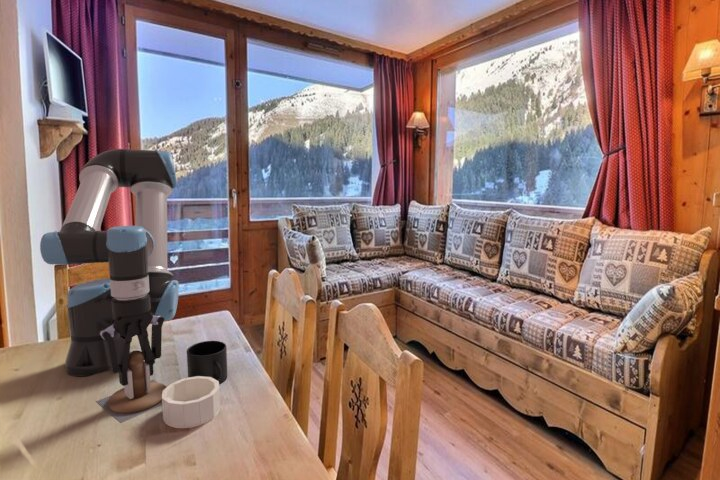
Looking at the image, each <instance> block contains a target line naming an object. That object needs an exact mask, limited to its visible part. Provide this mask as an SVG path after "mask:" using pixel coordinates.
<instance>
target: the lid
mask: <svg viewBox="0 0 720 480" xmlns="http://www.w3.org/2000/svg"><path fill="white" fill-rule="evenodd" d="M144 362H145V360H144V354H143V353H142V351H141V350H132V351H130V353H129V364H128V369H129V370H131V371H132V381H133V394H134V398H132V399H129V398H128V397H127V396H125V389H124V387H122V388H120V389H119V390H117V391H115V392H114V393H112V394H111V395H109V396H110V398H109V400H108V408H109V410H110V411H112V412H114V413H118V414H131V413H137V412H141V411H145V410H148V409H150V408H152V407H154V406H156V405H158V404H159V403H161V402H162V392H163V390H164V389H165V388H166V387H167V386H166V385H165V384H163V383H161V382H158V381H156V382H150V384H151V391H149V392H147V391H146V386H145V372H144ZM157 382H158V383H157Z"/></svg>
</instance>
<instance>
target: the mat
mask: <svg viewBox="0 0 720 480" xmlns="http://www.w3.org/2000/svg"><path fill="white" fill-rule="evenodd" d="M150 382H157V383H159V382H158V381H156V380H155V379H150ZM110 396H111V395H108V396H107V397H106V396H105V397H104V398H101V399H97V400H96V401H95V402H96V403H97V404H98V405H99V406H101V407H102V409H104V410H105V411H106V412H108V414H110V415H111V416H112V417H113V418H114V419H115V420H117V421H118V423H121V424H122V423H125V422H126V421H129V420H131V419H134V418H136V417H138V416H140V415H142V414H145V413H146V412H149V411H151V410H153V409H155V408H158V407H161V406H162V402H161V403H159V404H158V405H156V406H154V407H152V408H150V409H148V410H145V411H141V412H137V413H131V414H118V413H114V412H112V411H110V410H109V408H108V400H109V398H110Z"/></svg>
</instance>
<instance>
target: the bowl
mask: <svg viewBox="0 0 720 480" xmlns="http://www.w3.org/2000/svg"><path fill="white" fill-rule="evenodd" d="M220 389H221V388H220V385H219V381H217V380H215V379H214V378H212V377H204V376H196V377H189V378H188V377H185V378H181V379H179V380H176V381H174V382H172V383H169V385H168V386H166V388H165V389H164V390H163V392H162V405H161V406H162V407H161V408H162V420H163V421H164V423H165V424H166V425H167V426H169V427H171V428H176V429H189V428H190V429H191V428H193V427H194V428H195V427H199V426H201V425H204V424H206V423H207V422H208V423H209V421H211V420H213V419H214V418H216V417H217V415H218V414H219V413H220V410H221V393H220V392H221V391H220Z"/></svg>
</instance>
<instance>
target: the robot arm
mask: <svg viewBox="0 0 720 480" xmlns="http://www.w3.org/2000/svg"><path fill="white" fill-rule="evenodd" d="M173 158H174V157H173V155H172V153H171V152H170V151H167V150H158V149H155V150H154V149H153V150H151V149H130V148H129V149H128V148H126V149H124V148H115V149H114V148H113V149H109V150H106V151H103V152H101V153H99V154H97V155H96V156H94V157H92V158H90V159H89V160H88V162H86V164H85V165H84V166H83V167H82V169H81V171H80V172H79V175H78V176H79V177H78V178H79V179H78V181H79V182H80V184H79V187H78V189H77V190H76V193H75V195H74V197H73V199H72V202H71V205H70V207H69V210H68V212H67V214H66V217H65V219H64V221H63V223H62V226H61V228H60V230H59V231H57V230H55V231H52V232H46V233H44V234H43V235H42V237H41V240H40V245H39V249H40V255H41V258H42V260H43V262H45V263H46V264H48V265H65V266H69V265H81V264H82V265H84V264H95V263H96V264H99V263H101V264H102V263H108V270H109V271H108V272H109V277H108V278H107V277H105V278H99V279H94V280H90V281H85V282H83V283H80V284H77V285H75V286H72V287H71V288H70V289H69V290H68V291H67V298H66V299H67V305H66V308H67V315H68V323H69V332H70V334H69V335H70V344H69V349H68V352H67V355H66V357H65V363H64V365H65V372H66V373H67V374H68V375H71V376H74V377H76V376H77V377H89V376H94V375H96V374H100V373H104V372H108V371H111V372H112V373H114V374H116V373H118V379H119V380H118V381H119V384H120V385H121V386H122V387H123V388H124V389H125V396H127V397H128V398H129V399H132V398H134V394H133V381H132V371H131V370H129V369H128V364H129V353H130V352H131V343H132V342H133V341H132V340H133V337H135V336H137V339H138V343H139V347H140V351H141V352H142V353H143V354H144V372H145V386H146V391H147V392H149V391H151V384H150V381H151V376H153V375H154V374H155V373H154V364H156V360H157V359H160V358H162V339H163V337H162V334H163V333H162V332H163V331H162V330H163V328H162V327H163V325H164V322H169V321H171V320H173V318H174V317H175V315H176V312H177V308H178V302H179V295H180V293H179V290H180V289H179V287H180V284H179V280H176V279H174V274H173V273H172V272H171V271H169V269H168V198H169V197H170V196H172V195H173V189H175V188H177V187H178V180H177V175H176V169H175V163H174V159H173ZM117 188H129V189H130V192H131V193H132V194H133V195H134V196H135V223H134V224H135V225H120V226H113V227H110V228H108V229H107V230H101V226H102V223H103V221H104V220H103V219H104V217H105V214H106V210H107V207H108V205H109V201H110V199H111V194H112V193H114V192H115V191H117V190H116V189H117ZM150 324H151V334H150V335H151V343H150V340H149V333H148V328H149V326H150Z"/></svg>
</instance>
